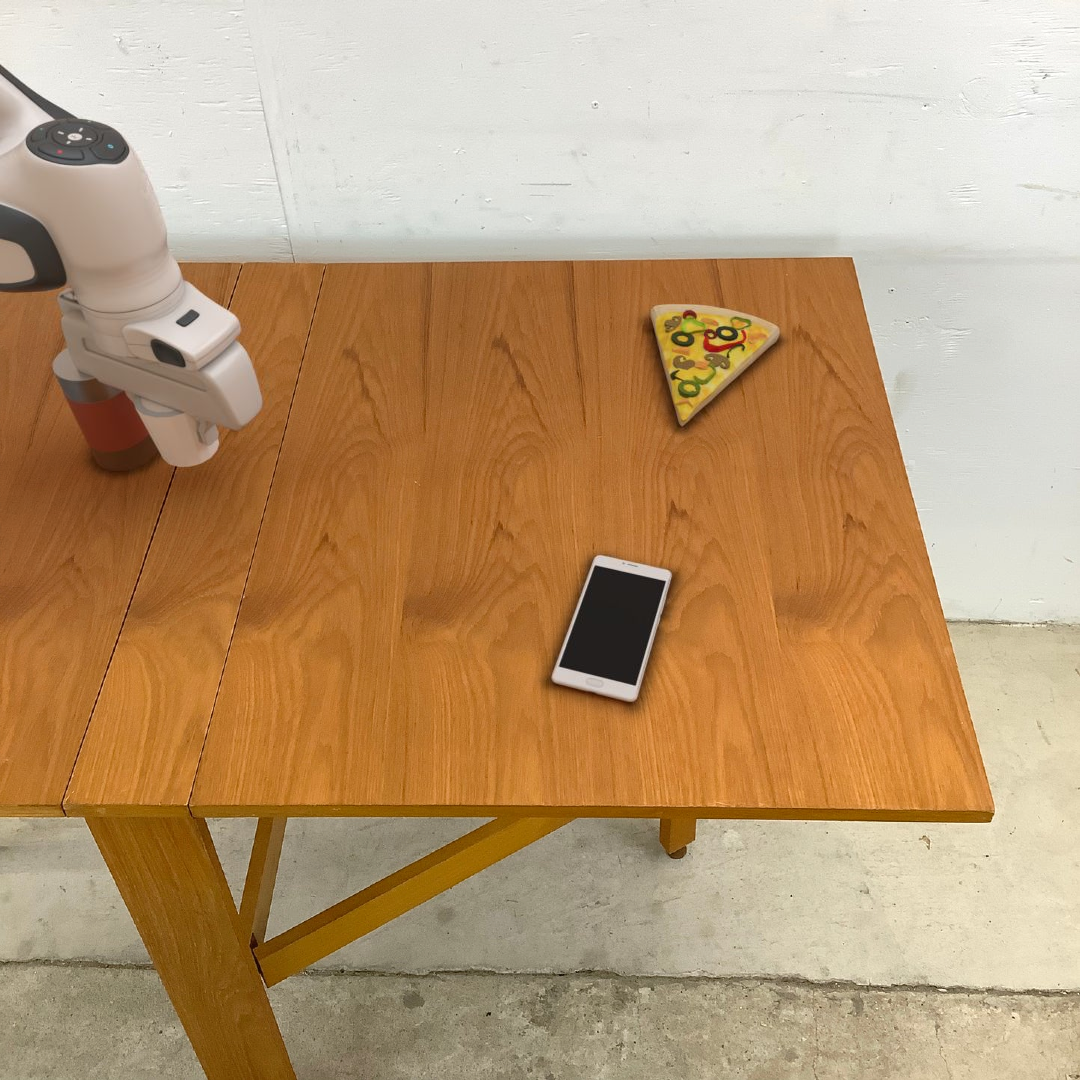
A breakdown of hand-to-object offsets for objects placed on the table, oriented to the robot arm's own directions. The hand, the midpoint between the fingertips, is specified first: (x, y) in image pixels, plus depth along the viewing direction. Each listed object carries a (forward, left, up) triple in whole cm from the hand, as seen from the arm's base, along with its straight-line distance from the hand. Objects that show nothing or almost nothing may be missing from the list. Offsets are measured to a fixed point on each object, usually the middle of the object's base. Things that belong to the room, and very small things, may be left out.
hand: (183, 431), depth 96 cm
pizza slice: (+40, +39, -7) cm, 56 cm away
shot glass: (0, 0, -2) cm, 3 cm away
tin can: (-10, 0, -6) cm, 12 cm away
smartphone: (+46, +1, -7) cm, 46 cm away
